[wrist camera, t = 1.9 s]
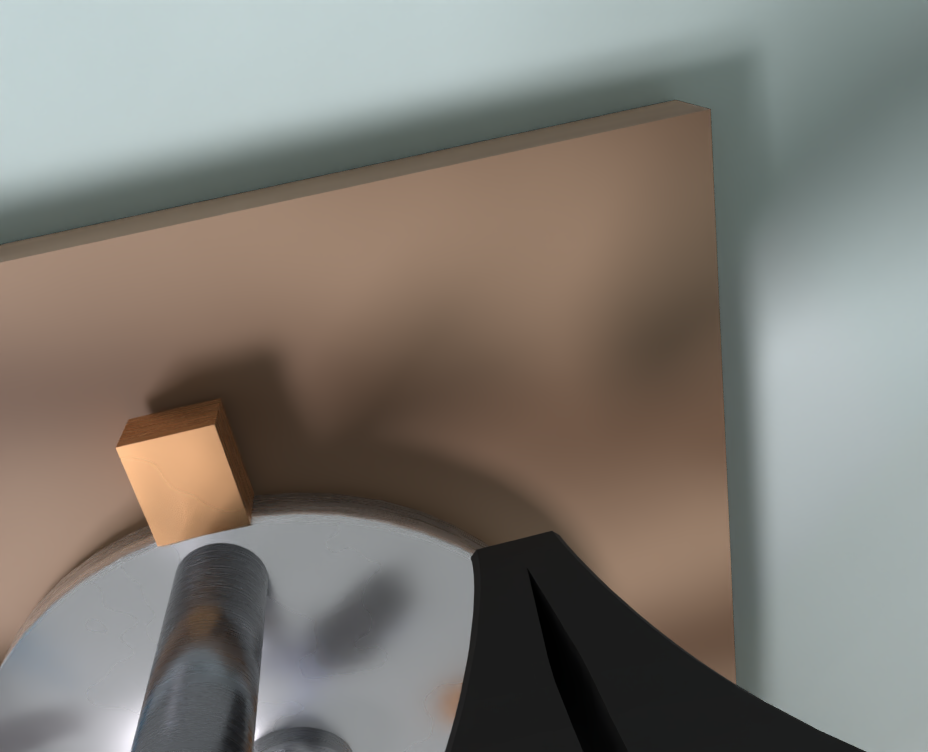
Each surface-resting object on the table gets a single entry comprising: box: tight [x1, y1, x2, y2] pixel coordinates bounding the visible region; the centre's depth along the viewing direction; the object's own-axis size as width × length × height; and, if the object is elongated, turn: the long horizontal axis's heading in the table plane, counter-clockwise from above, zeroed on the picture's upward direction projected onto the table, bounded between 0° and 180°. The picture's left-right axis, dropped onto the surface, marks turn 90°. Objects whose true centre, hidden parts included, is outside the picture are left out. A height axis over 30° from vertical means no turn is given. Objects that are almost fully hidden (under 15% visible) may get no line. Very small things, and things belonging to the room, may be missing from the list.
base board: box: [0, 100, 736, 684], centre depth 18 cm, size 22×20×4 cm
